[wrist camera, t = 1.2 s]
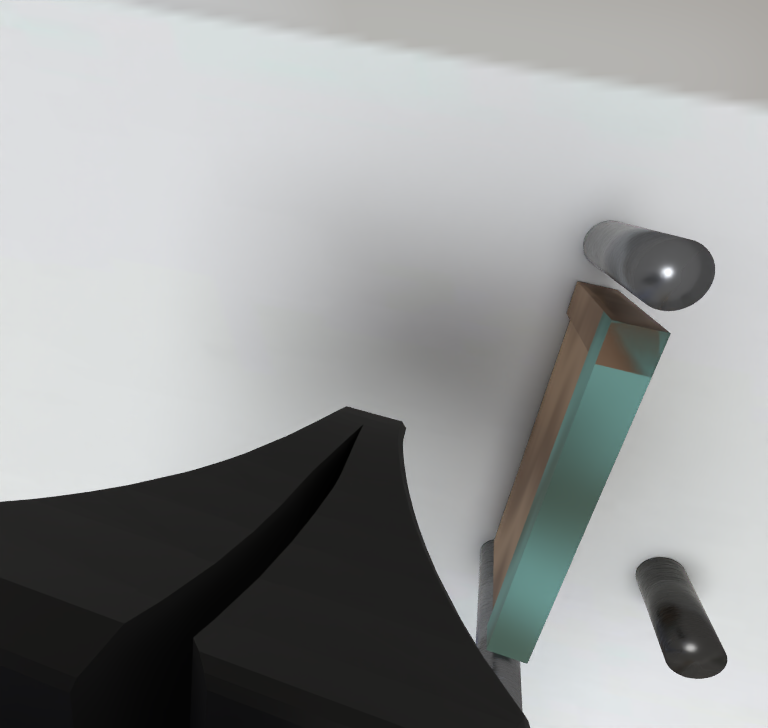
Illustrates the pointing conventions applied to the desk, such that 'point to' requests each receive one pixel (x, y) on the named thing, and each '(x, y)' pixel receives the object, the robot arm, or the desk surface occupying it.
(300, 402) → the desk surface
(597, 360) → the open box
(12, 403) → the desk surface
